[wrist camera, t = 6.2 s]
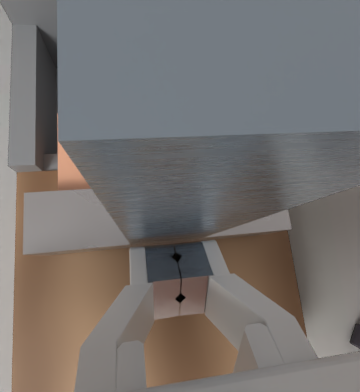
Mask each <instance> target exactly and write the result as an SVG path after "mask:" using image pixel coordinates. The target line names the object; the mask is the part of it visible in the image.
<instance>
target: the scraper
mask: <svg viewBox="0 0 360 392" xmlns="http://www.w3.org/2000/svg"><path fill="white" fill-rule="evenodd" d="M57 70H58V142H59V143H60V144H61V146H62V147H63V149H64V150H65V152H66V153H67V154H68V156H69V157H70V159H71V160H72V162H73V163H74V164H75V166H76V167H77V169H78V170H79V172H80V173H81V175H82V176H83V177H84V179H85V180H86V182H87V183H88V185H89V186H90V187H91V189H78V190H62V191H45V192H29V193H24V217H23V255H58V254H68V253H79V252H89V251H99V250H110V249H120V248H130V247H141V246H152V245H162V244H173V243H183V242H193V241H204V240H214V239H225V238H235V237H246V236H256V235H265V234H270V233H276V232H281V231H286V230H291V229H292V228H291V222H290V217H289V211H288V209H290V208H293V207H296V206H299V205H302V204H305V203H308V202H311V201H314V200H317V199H320V198H323V197H326V196H329V195H332V194H335V193H338V192H341V191H344V190H347V189H350V188H353V187H356V186H359V185H360V0H57Z"/></svg>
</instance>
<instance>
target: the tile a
mask: <svg viewBox="0 0 360 392" xmlns="http://www.w3.org/2000/svg"><path fill="white" fill-rule="evenodd" d="M57 132H58V113H57ZM78 189H91V187H90V186H89V185H88V183H87V182H86V180H85V179H84V177H83V176H82V175H81V173H80V172H79V170H78V169H77V167H76V166H75V164H74V163H73V162H72V160H71V159H70V157H69V156H68V154H67V153H66V152H65V150H64V149H63V147H62V146H61V144H60V143H59V142H58V191H62V190H78Z"/></svg>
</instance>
